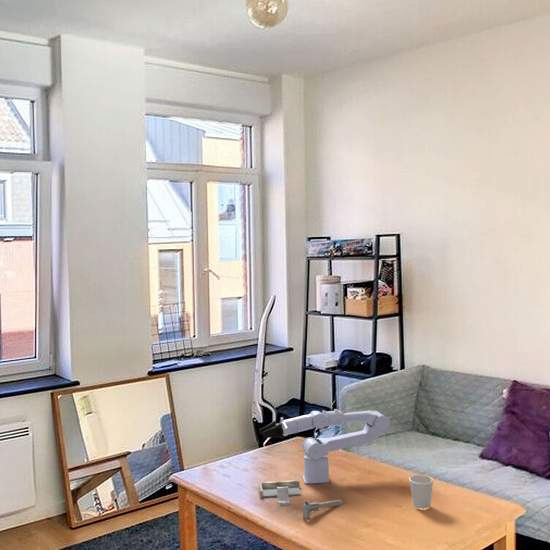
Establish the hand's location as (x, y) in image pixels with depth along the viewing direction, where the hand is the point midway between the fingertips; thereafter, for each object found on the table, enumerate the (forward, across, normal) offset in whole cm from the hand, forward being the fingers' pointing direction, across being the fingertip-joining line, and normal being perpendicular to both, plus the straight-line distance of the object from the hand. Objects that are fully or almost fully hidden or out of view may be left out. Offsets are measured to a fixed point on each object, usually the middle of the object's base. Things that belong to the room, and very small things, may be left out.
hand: (261, 433), depth 254 cm
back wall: (-2, +2, +21) cm, 21 cm away
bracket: (-1, +15, +23) cm, 27 cm away
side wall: (+6, +5, +20) cm, 22 cm away
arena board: (-2, +6, +22) cm, 23 cm away
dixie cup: (-45, +32, +32) cm, 64 cm away
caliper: (-12, +26, +27) cm, 39 cm away
